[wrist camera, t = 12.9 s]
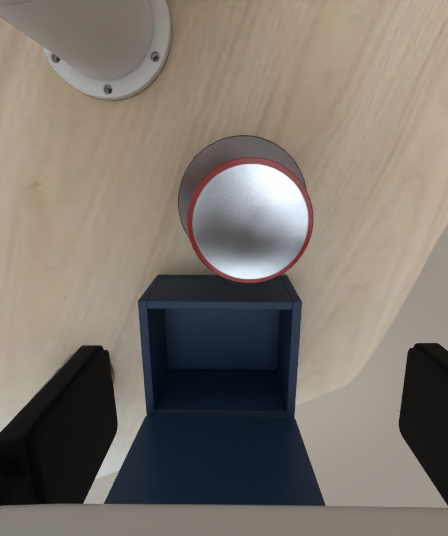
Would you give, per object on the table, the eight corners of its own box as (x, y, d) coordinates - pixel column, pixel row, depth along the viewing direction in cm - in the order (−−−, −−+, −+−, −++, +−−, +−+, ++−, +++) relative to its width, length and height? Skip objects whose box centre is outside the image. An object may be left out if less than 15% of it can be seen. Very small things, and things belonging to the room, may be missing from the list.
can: (204, 165, 27) (183, 156, 16) (282, 165, 27) (319, 156, 15) (205, 241, 29) (188, 285, 17) (278, 241, 29) (310, 285, 17)
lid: (87, 537, 20) (90, 617, 20) (339, 542, 19) (335, 624, 20) (145, 415, 33) (146, 466, 34) (295, 418, 33) (293, 468, 33)
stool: (187, 144, 34) (175, 135, 27) (293, 144, 34) (311, 134, 26) (191, 248, 37) (180, 266, 30) (288, 248, 37) (303, 267, 29)
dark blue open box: (157, 274, 38) (137, 300, 30) (287, 275, 38) (301, 302, 30) (163, 370, 42) (146, 416, 34) (282, 371, 41) (294, 418, 33)
